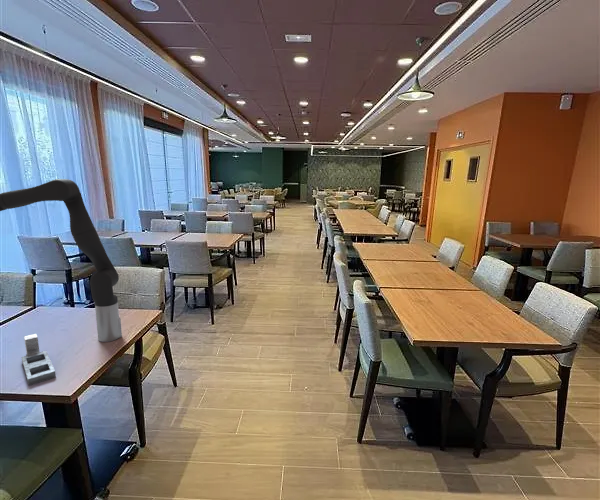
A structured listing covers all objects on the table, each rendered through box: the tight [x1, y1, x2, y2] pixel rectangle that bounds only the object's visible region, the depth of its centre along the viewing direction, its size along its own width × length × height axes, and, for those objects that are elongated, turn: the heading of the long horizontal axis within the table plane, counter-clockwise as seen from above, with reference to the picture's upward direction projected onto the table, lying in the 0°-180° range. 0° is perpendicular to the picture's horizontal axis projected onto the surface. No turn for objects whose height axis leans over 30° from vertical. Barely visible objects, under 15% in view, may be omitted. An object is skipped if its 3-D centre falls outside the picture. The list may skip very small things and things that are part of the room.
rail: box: [21, 350, 57, 386], centre depth 128 cm, size 8×20×2 cm, turn 44°
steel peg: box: [23, 333, 40, 356], centre depth 138 cm, size 4×4×8 cm
